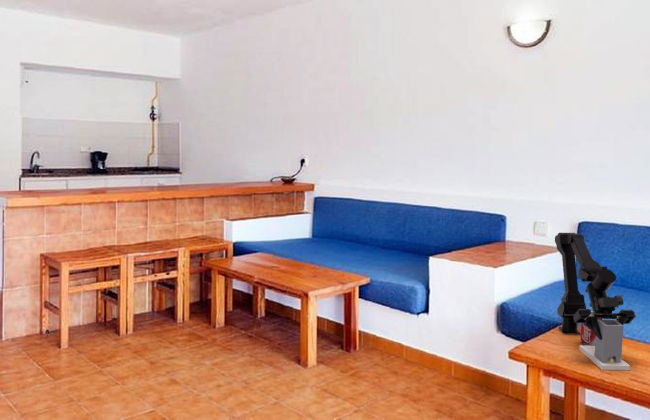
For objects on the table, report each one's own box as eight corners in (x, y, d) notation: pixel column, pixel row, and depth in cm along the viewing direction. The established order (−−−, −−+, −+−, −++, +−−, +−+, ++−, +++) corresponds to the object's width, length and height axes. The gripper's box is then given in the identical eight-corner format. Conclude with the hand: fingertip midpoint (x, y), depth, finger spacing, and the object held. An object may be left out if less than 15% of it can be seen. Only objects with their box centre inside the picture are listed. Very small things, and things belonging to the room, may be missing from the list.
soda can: (603, 348, 207) (605, 315, 205) (582, 346, 208) (584, 314, 207) (597, 341, 214) (600, 310, 212) (577, 339, 215) (579, 308, 213)
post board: (579, 349, 205) (580, 335, 205) (604, 349, 205) (605, 335, 204) (601, 369, 187) (602, 354, 187) (629, 370, 187) (630, 355, 187)
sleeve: (594, 355, 195) (597, 319, 194) (612, 355, 195) (615, 320, 193) (602, 362, 189) (605, 325, 188) (620, 362, 189) (623, 325, 187)
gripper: (579, 285, 193) (590, 328, 184) (635, 286, 193) (650, 329, 183) (568, 301, 202) (579, 343, 193) (622, 302, 201) (635, 344, 192)
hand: (610, 339), depth 190 cm, fingers closed on sleeve, 6 cm apart
